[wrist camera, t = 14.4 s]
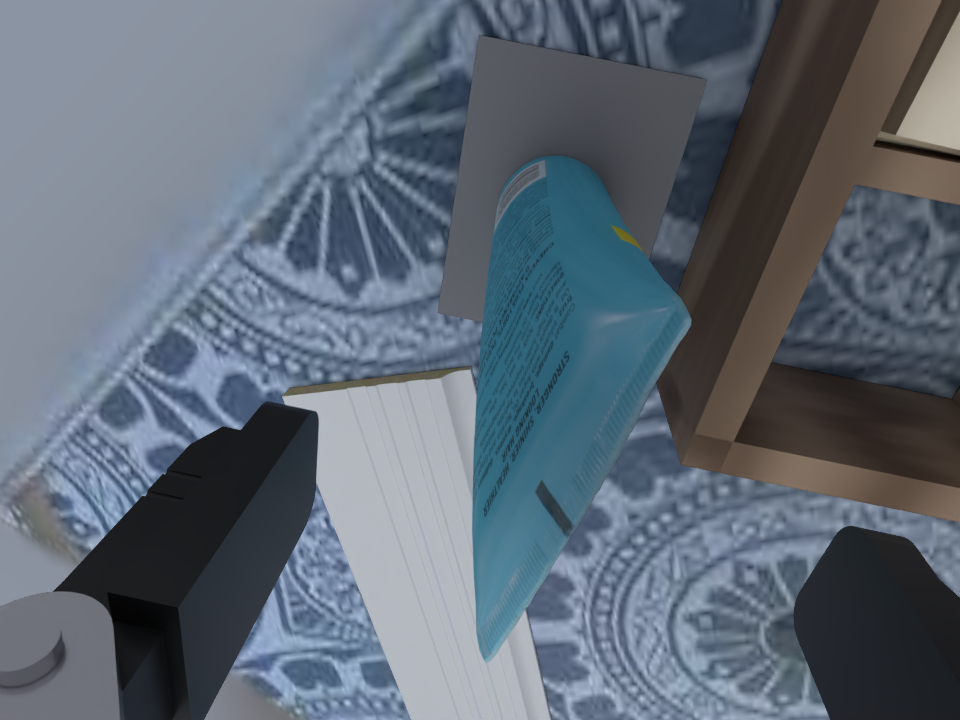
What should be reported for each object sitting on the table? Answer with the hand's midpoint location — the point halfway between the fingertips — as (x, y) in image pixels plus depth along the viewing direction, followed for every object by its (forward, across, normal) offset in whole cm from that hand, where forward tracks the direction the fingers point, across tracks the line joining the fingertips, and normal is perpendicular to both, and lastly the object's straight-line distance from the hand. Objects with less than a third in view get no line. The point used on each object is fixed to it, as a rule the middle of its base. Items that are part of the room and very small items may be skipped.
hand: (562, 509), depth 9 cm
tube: (+19, 0, 0) cm, 19 cm away
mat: (+20, 0, 0) cm, 20 cm away
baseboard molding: (+21, +1, +25) cm, 33 cm away
